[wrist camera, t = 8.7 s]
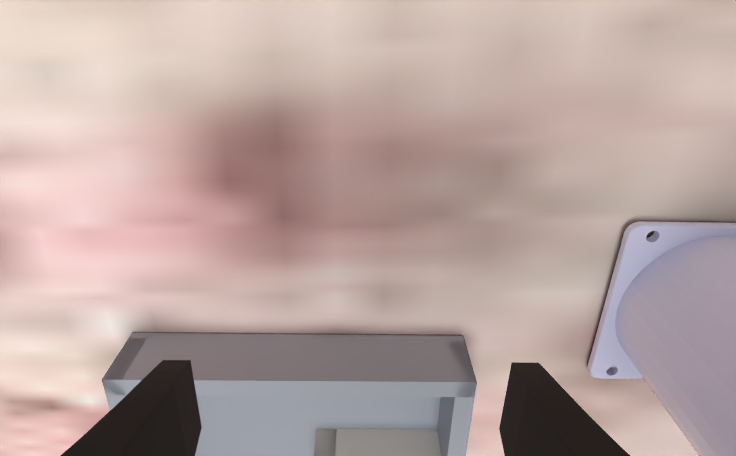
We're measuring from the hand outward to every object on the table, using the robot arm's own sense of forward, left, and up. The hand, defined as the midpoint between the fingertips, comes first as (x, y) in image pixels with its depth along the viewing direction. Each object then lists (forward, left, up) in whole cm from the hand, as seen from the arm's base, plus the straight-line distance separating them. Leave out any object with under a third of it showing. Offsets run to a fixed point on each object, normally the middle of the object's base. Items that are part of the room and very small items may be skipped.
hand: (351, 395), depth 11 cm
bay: (+3, +15, -10) cm, 18 cm away
